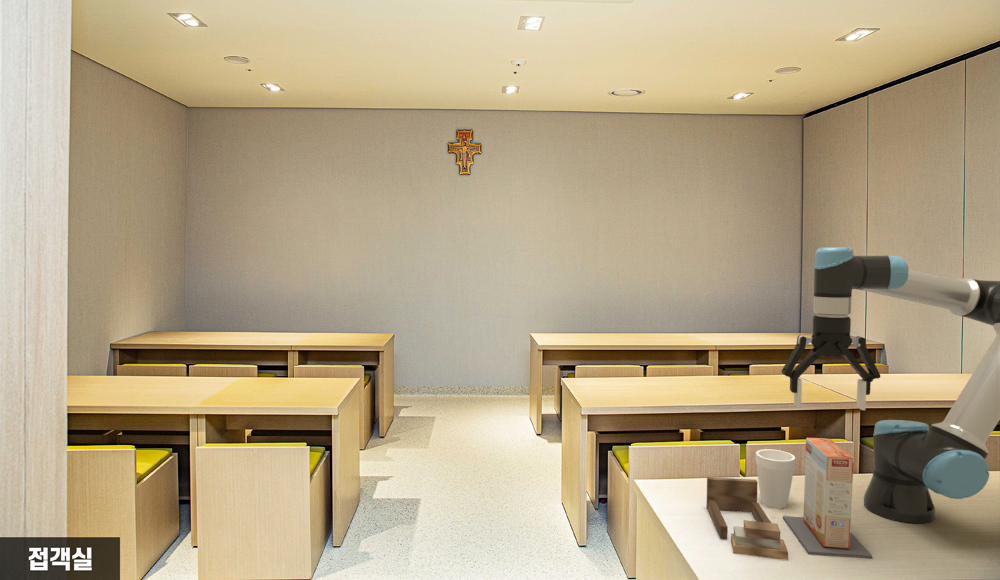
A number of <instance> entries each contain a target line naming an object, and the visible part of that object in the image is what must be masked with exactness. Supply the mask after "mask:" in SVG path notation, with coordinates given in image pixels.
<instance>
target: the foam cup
mask: <svg viewBox="0 0 1000 580" xmlns="http://www.w3.org/2000/svg"><path fill="white" fill-rule="evenodd" d="M755 463H756V468H757V469H756V470H757V480H758V481H757V482H758V488H759V496H760V503H761V504H762V505H763V506H765V507H768V508H771V509H778V510H779V509H786V508H787V507H788V505H789V500H790V493H791V488H792V481H793V476H794V471H795V468H796V456H795V455H794V454H792V453H790V452H787V451H784V450H779V449H772V448H770V449H768V448H767V449H764V448H763V449H760V450H757V451H756V452H755Z"/></svg>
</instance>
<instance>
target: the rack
mask: <svg viewBox="0 0 1000 580" xmlns="http://www.w3.org/2000/svg"><path fill="white" fill-rule="evenodd" d="M757 480H758V479H751V478H749V479H748V478H734V477H733V478H732V477H730V478H728V477H711V476H708V477H706V510H707V512H708V513H709V516H710V518H712V519H711V521H712V523H713V526H714V527H716V528H715V529H716V532H717V534H718V537H719V536H720V537H719V539H720V540H728V536H729V535H728V528H729V527H728V525H727V522H726V521H725V519H724V516H723V514H722V513H721V512H722V511H723V512H724V511H725V512H737V511H739V513H740V511H741V513H751V516H752V515H753V516H752V518H753V519H754V521H757V522H766V523H772V522H771V520H770V519H769V517H768V516H767V515H766V512H765V511H764V510H763V508H762V506H760V504H759V502H758V481H757Z"/></svg>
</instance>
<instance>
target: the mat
mask: <svg viewBox="0 0 1000 580" xmlns="http://www.w3.org/2000/svg"><path fill="white" fill-rule="evenodd" d="M782 519H783V521H784V522H785V523H786V525H787V526H788V528H789V529H790V531H791V532H792V533H793V535H794V536H795V537H796V539H797V541H798V542H799V543H800V545H801V546H802V548H803V549H804V551H805V552H806V554H808V555H816V556H830V557H843V558H844V557H845V558H846V557H847V558H857V559H860V558H862V559H863V558H864V559H873V557H874V556H873V555H872V553H870V551H869V550H868V549H867V548H866V547H865V546H864V545H863V543H861V542H860V540H859V539H858V538H857V537H856V536H855V535H854V534H853V533H852V532H851V531H850V549H843V548H832V547H823V546H822V544H821V543H820V542H819V540H818V539H817V538H816V536H815V535H814V534H813V532H812V531H811V530H810V528H809V527H808V526H807V524H806V523H805V522H804V520H803V516H788V515H782Z"/></svg>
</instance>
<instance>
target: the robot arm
mask: <svg viewBox="0 0 1000 580" xmlns="http://www.w3.org/2000/svg"><path fill="white" fill-rule="evenodd" d="M813 270H814V273H813V274H814V277H813V313H814V314H815V315H814V316H812V335H811V336H810V337H809V336H803V335H802V334H799V335H798V336H797V338H796V339H797V340H796V345H795V346H794V348H793V350H792V351H791V353H790V355H789V356H788V359H787V361H785V364H784V366H783V368H782V370H781V374H783V376H785V377H788V378H789V391H790V392H791V393H792V394H793V406H794V407H796V408H797V409H802V394H803V393H802V392H803V391H802V389H803V388H802V387H803V385H802V384H803V380H802V379H801V378H800V377H801V376H802V375H803V374H804V373H805V372H806V371H807V369H808V368H809V367H810V366H811V365H812V364H813V363H814V362H815V361H816V360H817V359H819V358H820V357H821V356H823V357H825V358H826V357H835V358H837V357H838V358H839V357H840V356H842V357H843V358H844V359H845V361H847V363H848V364H849V365H850V366H851V368H853V369H854V371H855V372H856V373H857V374H858V375H859V377H860V378H857V383H856V384H857V389H856V408H857V409H859V410H861V411H866V407H867V406H866V402H867V396H870V395H871V383H872V382H873V381H874V380H875V379H880V378H881V373H880V371H879V369H878V368H877V365H876V364H875V361H874V360H873V358H872V356H871V353H870V352H869V350H868V348H867V339H866V338H865V337H863V336H859V335H858V336H857V335H856V336H855V337H851V326H852V325H851V324H852V323H851V321H852V320H851V317H850V315H851V314H852V296H853V295H852V292H853V290H859V291H865V292H869V293H873V294H878V295H881V296H887V297H891V298H897V299H901V300H904V301H905V300H906V301H908V302H914V303H919V304H924V305H928V306H933V307H936V308H937V307H938V308H941V309H945V310H949V312H950V313H952V315H954V316H959V317H962V318H963V317H964V318H967V319H971V320H974V321H977V322H980V323H983V324H986V325H990V326H991V327H992V326H993V329H994V331H995V333H996V336H995V337H994V339H993V340H992V341H991V344H990V346H989V347H988V348H987V350H986V352H985V353H984V355H983V357H982V358H981V360H980V361H979V363H978V365H977V366H976V368H975V369H974V370H973V373H972V374H971V375H970V377H969V379H968V381H967V383H966V384H965V385H964V387H963V389H962V390H961V392H960V394H959V395H958V396H957V398H956V400H955V401H954V403H953V405H952V407H951V408H950V409H949V411H948V413H947V414H946V416H945V418H944V419H943V421H941V422H938V423H934V424H933V423H932V424H931V425H929V424H928V423H926V422H925V423H924V422H921V421H914V420H905V419H904V420H903V419H883V420H879V421H877V422H876V423H875V424H874V431H873V434H872V436H873V450H872V451H873V455H872V456H873V457H872V458H873V459H872V477H871V480H870V482H869V483H868V486H867V488H866V490H865V492H864V495H863V505H864V507H865V508H866V509H867V510H868V511H870V512H872V513H873V514H876V515H877V516H880V517H883V518H885V519H889V520H893V521H898V522H903V523H911V524H912V523H913V524H925V523H930V522H933V521H934V520H935V518H936V517H935V515H936V509H935V505H934V502H933V499H932V497H931V493H930V491H932V492H933V493H936V494H938V495H942V496H944V497H946V498H949V499H955V500H961V499H962V500H963V499H965V498H967V499H968V498H971V497H973V496H975V495H977V494H979V493H980V492H981V491H982V490H983V489H984V488H985V486H986V485H987V483H988V482H989V479H990V472H989V468H990V467H989V464H988V462H987V461H986V459H987V457H988V455H989V449H988V448H987V446H986V442H987V441H988V439H989V438H990V436H991V434H992V432H993V431H994V429H995V428H996V426H997V425H998V423H999V421H1000V280H985V279H984V280H982V279H981V280H980V279H975V278H970V277H963V278H960V279H954V278H952V277H945V276H941V275H936V274H932V273H926V272H923V271H918V270H914V269H910V268H909V266H908V263H907V261H906V260H905V259H904V258H903V257H901V256H898V255H889V254H888V255H854V250H853V248H852V247H836V246H835V247H819V248H818V249H817V250H816V251H815V257H814V265H813ZM810 343H811V345H812V346H813V347H812V348H811V349H810V351H809V352H808V354H807V355H806V356H805V357H804V358H803V359H802V360H801V361H800V362H799V363H798V361H799V360H800V358H801V357H802V354H803V352H804V351H805V350H806V347H808V346H809V344H810ZM852 344H853V347H856V349H857V352H858V353H859V356H860V358H861V360H862V361H863V364H864V365H865V366H864V367H865V368H866V369H865V368H864V367H863V366H862V365H861V363H859V361H858V360H857V359H856V358H855V356H854V355H853V354H852V352H851V351H850V350H849V348H850V347H851V345H852ZM929 490H930V491H929Z"/></svg>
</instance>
